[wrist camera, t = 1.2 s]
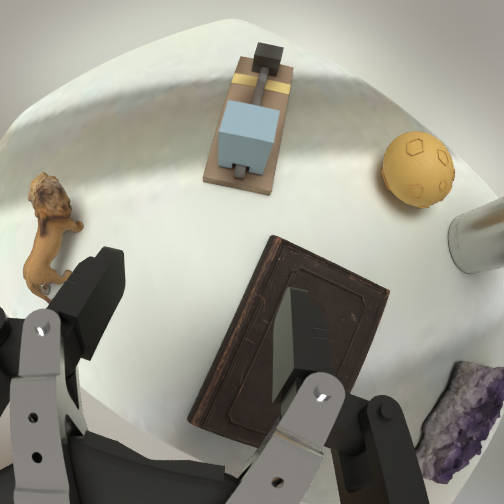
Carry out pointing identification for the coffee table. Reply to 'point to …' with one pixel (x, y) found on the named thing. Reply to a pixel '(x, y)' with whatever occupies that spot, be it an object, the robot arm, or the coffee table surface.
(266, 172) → the rail
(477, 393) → the geode
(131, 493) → the robot arm
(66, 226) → the lion figurine
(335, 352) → the hardcover book
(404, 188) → the stress ball
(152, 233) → the coffee table surface
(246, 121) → the pale blue squarish block
